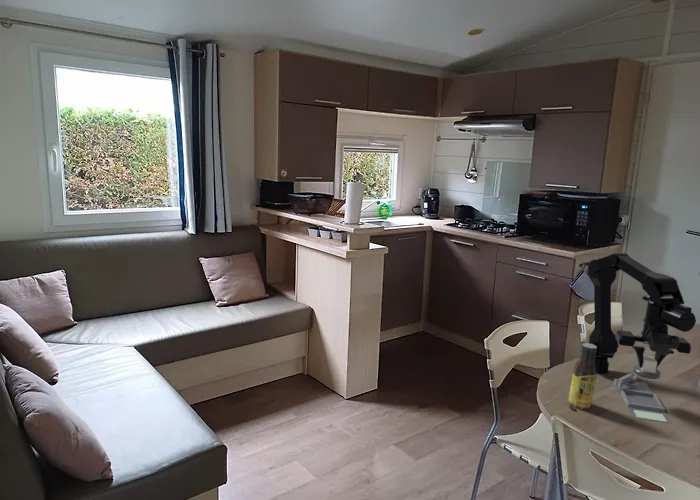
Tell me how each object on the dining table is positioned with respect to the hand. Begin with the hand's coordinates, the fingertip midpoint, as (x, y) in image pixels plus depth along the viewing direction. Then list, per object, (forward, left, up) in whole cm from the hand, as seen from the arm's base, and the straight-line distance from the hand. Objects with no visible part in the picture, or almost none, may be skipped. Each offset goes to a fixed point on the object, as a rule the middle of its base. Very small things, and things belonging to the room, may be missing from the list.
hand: (647, 368), depth 153 cm
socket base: (0, +2, -12) cm, 12 cm away
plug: (0, 0, -2) cm, 2 cm away
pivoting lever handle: (-3, +9, -10) cm, 14 cm away
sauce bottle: (-19, -8, -12) cm, 24 cm away
